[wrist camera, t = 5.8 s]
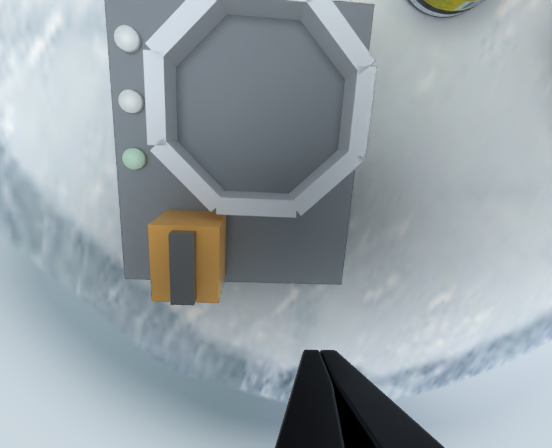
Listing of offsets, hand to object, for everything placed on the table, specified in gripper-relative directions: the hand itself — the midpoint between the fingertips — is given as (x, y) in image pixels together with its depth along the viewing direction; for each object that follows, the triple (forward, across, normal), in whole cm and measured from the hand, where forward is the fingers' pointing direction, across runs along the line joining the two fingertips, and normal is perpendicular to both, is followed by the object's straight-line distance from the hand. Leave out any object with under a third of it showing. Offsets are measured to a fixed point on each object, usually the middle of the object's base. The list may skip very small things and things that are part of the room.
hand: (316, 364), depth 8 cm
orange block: (+9, +5, 0) cm, 10 cm away
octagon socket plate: (+11, +3, -5) cm, 13 cm away
